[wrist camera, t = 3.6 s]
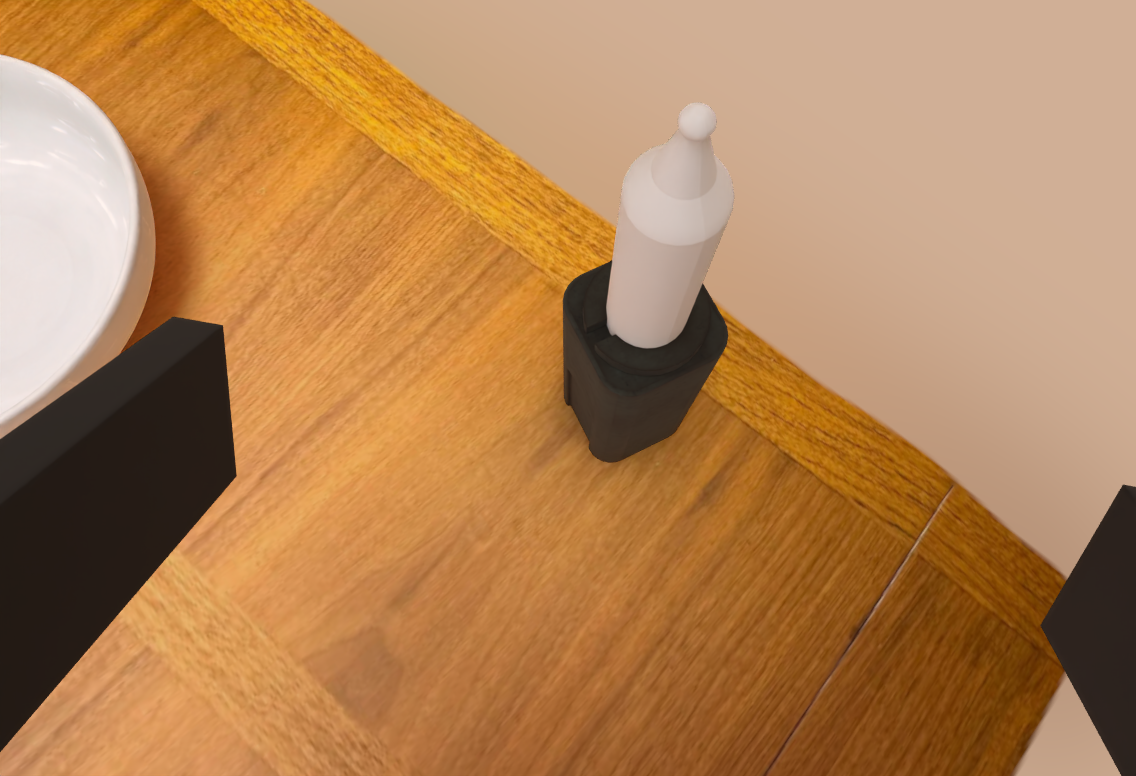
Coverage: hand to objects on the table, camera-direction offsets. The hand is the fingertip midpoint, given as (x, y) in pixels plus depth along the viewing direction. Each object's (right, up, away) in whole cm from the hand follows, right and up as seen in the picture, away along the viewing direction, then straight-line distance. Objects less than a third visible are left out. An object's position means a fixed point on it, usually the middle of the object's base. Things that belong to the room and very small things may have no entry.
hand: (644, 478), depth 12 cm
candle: (+2, 0, +29) cm, 30 cm away
